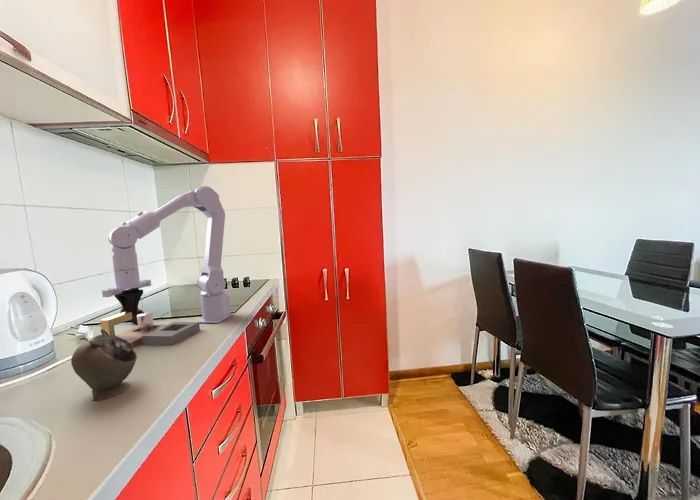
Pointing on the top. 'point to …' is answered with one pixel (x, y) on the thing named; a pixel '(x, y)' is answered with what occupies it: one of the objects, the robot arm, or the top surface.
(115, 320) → the bar
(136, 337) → the socket board
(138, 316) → the peg
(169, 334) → the frame
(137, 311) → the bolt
